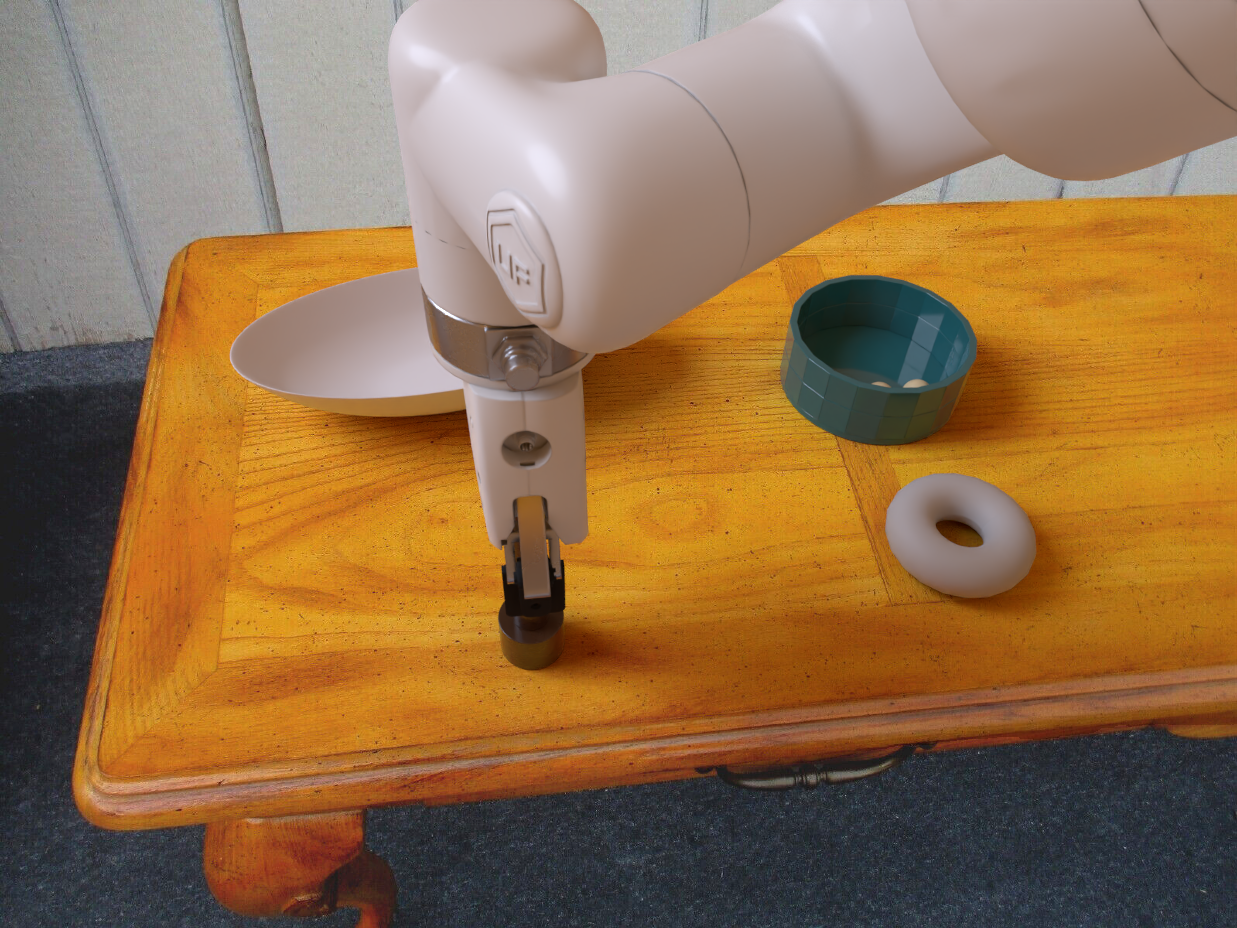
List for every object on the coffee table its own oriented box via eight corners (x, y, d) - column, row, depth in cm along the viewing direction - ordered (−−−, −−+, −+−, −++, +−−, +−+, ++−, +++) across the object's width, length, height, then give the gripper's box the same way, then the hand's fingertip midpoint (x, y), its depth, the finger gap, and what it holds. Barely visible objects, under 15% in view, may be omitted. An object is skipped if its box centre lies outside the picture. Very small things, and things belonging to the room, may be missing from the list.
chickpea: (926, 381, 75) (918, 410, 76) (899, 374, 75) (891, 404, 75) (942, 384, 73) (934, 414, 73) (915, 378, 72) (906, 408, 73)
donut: (850, 527, 67) (950, 631, 61) (859, 495, 65) (965, 600, 59) (954, 477, 71) (1058, 571, 65) (967, 444, 68) (1077, 538, 62)
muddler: (577, 647, 60) (576, 503, 50) (524, 681, 58) (512, 539, 48) (540, 605, 62) (532, 458, 52) (488, 636, 60) (469, 491, 50)
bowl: (603, 300, 84) (605, 241, 79) (653, 415, 74) (658, 356, 70) (249, 353, 78) (229, 293, 73) (253, 487, 68) (230, 426, 64)
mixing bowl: (992, 395, 77) (1015, 342, 73) (874, 473, 71) (892, 420, 67) (860, 306, 84) (874, 254, 80) (743, 370, 78) (752, 317, 74)
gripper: (631, 443, 35) (617, 689, 48) (578, 193, 47) (579, 447, 60) (426, 460, 34) (469, 706, 48) (424, 200, 46) (459, 457, 59)
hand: (530, 559), depth 54 cm, fingers open, 5 cm apart
